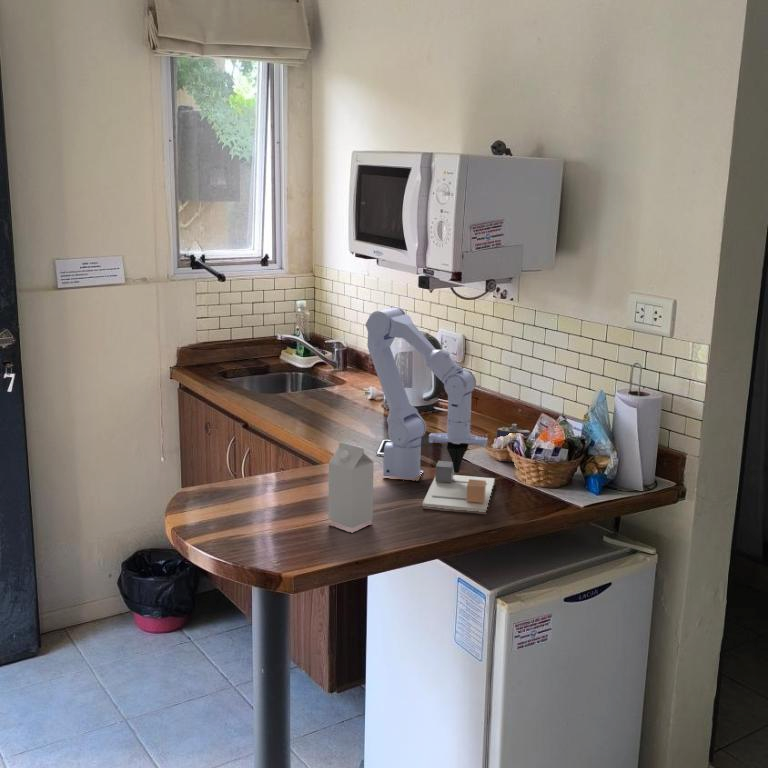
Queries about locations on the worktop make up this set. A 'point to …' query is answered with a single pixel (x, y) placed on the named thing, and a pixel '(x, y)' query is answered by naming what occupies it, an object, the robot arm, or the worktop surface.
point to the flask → (511, 431)
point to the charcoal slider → (444, 471)
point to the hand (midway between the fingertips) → (456, 471)
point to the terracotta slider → (476, 491)
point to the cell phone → (382, 446)
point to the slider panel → (457, 494)
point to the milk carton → (350, 486)
